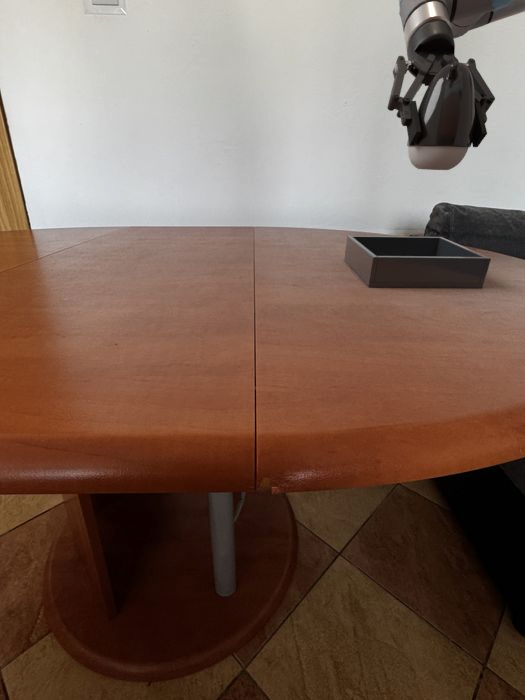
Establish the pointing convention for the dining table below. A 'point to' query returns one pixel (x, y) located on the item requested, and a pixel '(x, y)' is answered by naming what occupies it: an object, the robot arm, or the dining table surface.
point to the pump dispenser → (445, 120)
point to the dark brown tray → (415, 262)
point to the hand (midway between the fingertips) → (447, 139)
